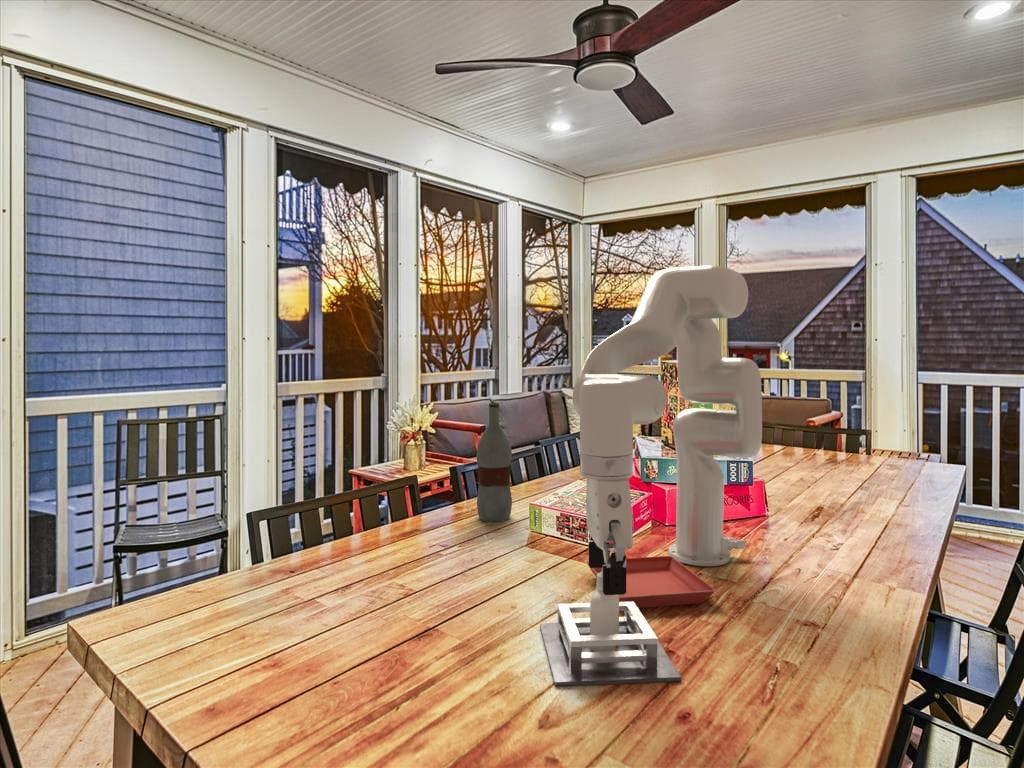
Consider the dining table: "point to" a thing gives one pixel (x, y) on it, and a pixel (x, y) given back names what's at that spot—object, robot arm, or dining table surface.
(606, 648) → the eye dropper bottle
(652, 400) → the robot arm
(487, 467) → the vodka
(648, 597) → the plant saucer
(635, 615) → the collar stand
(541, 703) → the dining table surface
